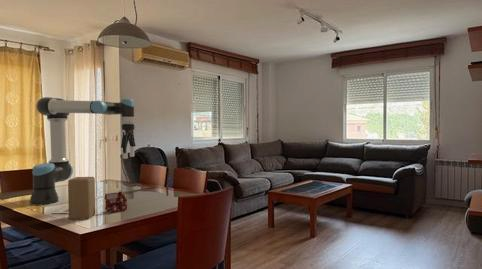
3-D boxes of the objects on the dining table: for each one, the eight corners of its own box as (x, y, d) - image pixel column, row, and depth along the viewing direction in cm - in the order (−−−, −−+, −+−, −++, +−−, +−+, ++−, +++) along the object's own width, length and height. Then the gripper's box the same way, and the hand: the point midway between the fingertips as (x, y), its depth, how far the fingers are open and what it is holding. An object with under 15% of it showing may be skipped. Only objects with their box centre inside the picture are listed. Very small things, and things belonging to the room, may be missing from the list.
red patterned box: (130, 209, 186) (129, 191, 185) (108, 214, 176) (108, 194, 176) (123, 207, 190) (123, 189, 190) (102, 212, 181) (102, 193, 181)
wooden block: (76, 214, 176) (75, 176, 175) (96, 214, 176) (95, 176, 176) (68, 220, 166) (67, 179, 165) (89, 219, 166) (88, 179, 166)
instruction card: (51, 214, 178) (51, 213, 178) (69, 206, 196) (69, 205, 196) (75, 213, 178) (75, 212, 178) (91, 205, 196) (91, 205, 196)
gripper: (127, 123, 199) (128, 159, 199) (139, 123, 224) (140, 155, 224) (114, 123, 199) (115, 159, 199) (128, 123, 223) (129, 155, 224)
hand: (128, 157), depth 212 cm, fingers open, 13 cm apart
